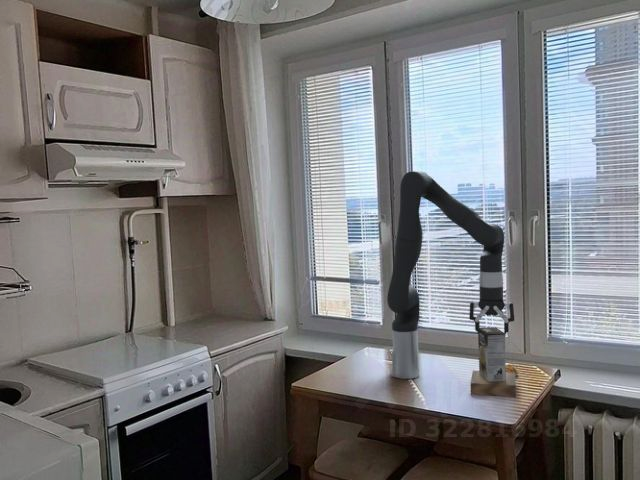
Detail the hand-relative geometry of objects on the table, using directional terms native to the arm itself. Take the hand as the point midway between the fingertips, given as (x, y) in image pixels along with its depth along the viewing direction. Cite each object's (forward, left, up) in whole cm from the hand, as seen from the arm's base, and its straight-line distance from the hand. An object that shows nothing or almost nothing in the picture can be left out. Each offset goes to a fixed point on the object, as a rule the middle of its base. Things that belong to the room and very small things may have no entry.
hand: (491, 333), depth 186 cm
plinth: (0, 0, -19) cm, 19 cm away
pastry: (+4, +15, -20) cm, 25 cm away
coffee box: (0, 0, -15) cm, 15 cm away
